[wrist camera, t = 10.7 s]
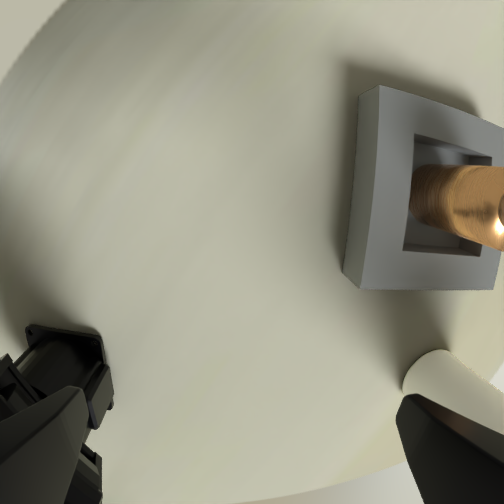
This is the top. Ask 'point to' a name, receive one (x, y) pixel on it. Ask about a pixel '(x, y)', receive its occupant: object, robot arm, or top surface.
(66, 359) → the robot arm
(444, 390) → the drinking glass
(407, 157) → the gray cradle
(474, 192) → the battery cell
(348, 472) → the top surface
